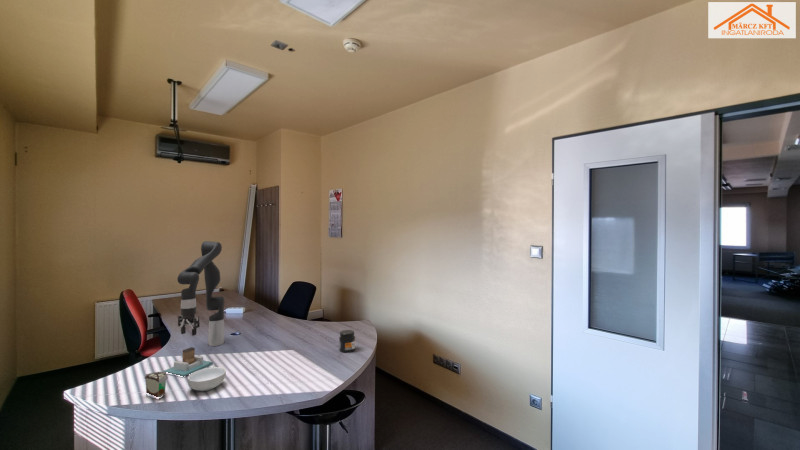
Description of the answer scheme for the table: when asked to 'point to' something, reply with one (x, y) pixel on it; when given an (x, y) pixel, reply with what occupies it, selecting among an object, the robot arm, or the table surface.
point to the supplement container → (347, 341)
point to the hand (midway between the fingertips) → (188, 334)
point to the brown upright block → (189, 355)
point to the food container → (156, 383)
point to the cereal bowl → (206, 378)
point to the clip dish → (205, 364)
